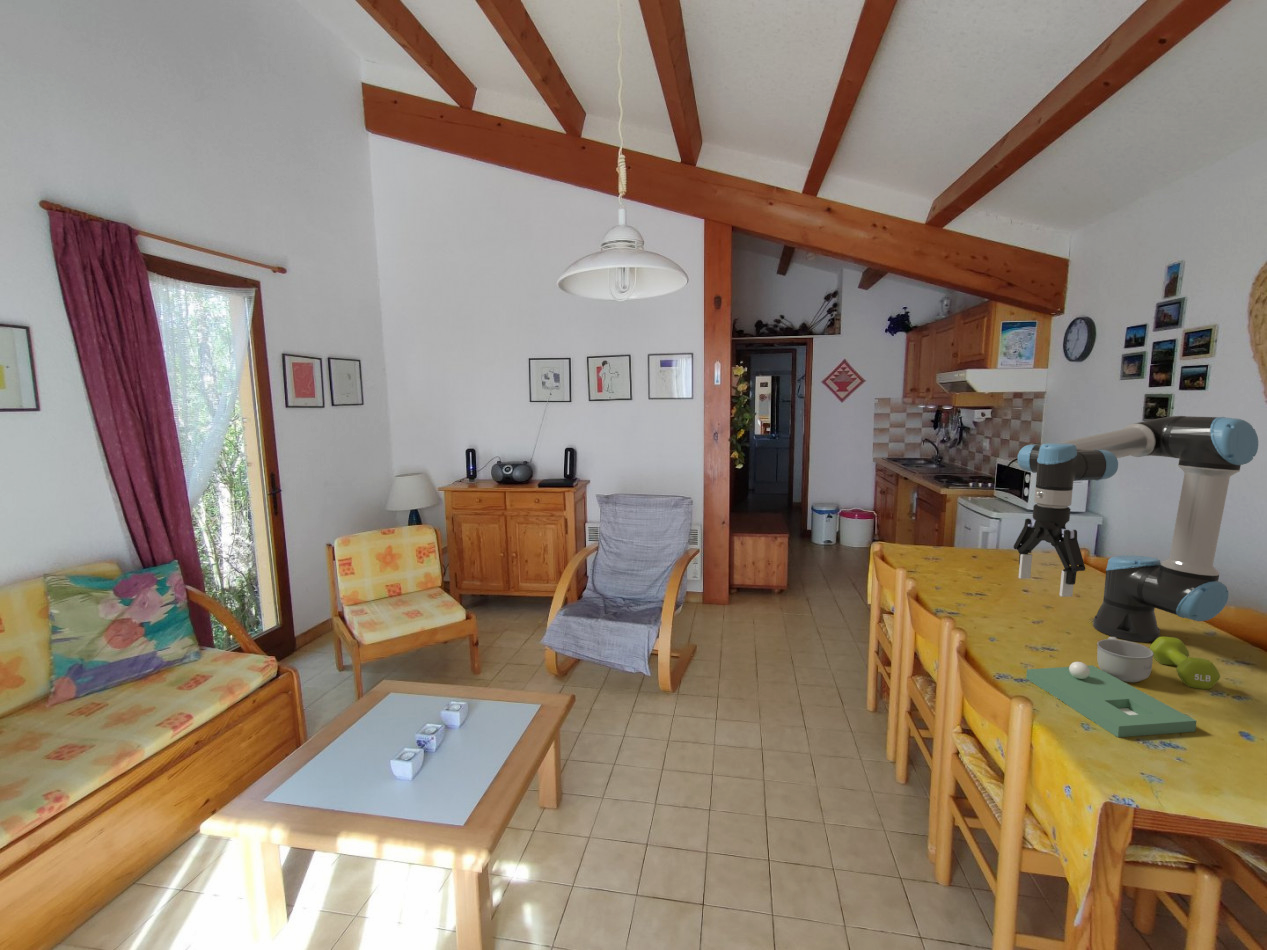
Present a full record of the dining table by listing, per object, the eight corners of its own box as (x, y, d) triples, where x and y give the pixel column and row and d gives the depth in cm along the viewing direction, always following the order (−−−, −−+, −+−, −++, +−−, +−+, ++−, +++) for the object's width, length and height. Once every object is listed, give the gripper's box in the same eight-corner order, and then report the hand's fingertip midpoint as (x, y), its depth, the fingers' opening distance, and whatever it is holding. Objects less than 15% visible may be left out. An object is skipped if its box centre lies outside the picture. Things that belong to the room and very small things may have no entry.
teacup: (1154, 691, 138) (1158, 660, 137) (1097, 680, 144) (1100, 650, 143) (1142, 667, 150) (1145, 639, 149) (1089, 658, 156) (1092, 630, 154)
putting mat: (1091, 674, 147) (1092, 665, 146) (1195, 731, 122) (1196, 720, 122) (1026, 678, 145) (1026, 669, 145) (1117, 737, 120) (1118, 726, 120)
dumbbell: (1145, 658, 155) (1148, 633, 154) (1182, 662, 153) (1185, 637, 152) (1179, 688, 140) (1183, 660, 139) (1221, 693, 137) (1225, 665, 136)
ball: (1079, 673, 142) (1080, 658, 142) (1093, 681, 138) (1095, 666, 138) (1064, 674, 142) (1065, 659, 141) (1078, 682, 138) (1079, 666, 137)
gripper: (1002, 496, 155) (996, 571, 159) (1079, 516, 131) (1070, 605, 134) (1028, 495, 156) (1021, 571, 159) (1110, 515, 131) (1100, 603, 134)
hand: (1044, 586), depth 147 cm, fingers open, 13 cm apart
